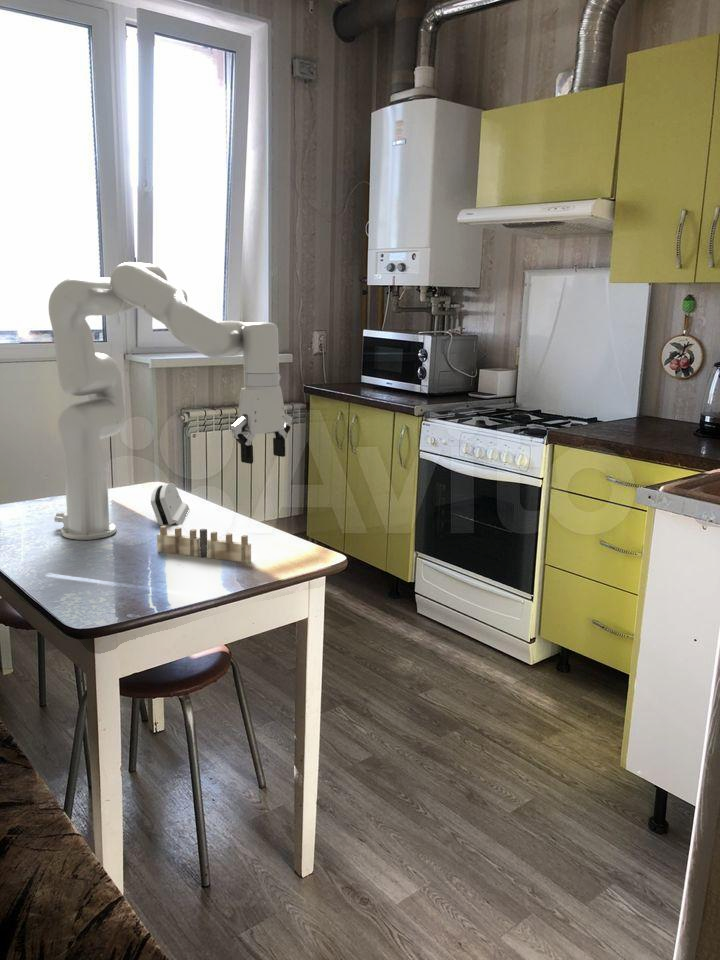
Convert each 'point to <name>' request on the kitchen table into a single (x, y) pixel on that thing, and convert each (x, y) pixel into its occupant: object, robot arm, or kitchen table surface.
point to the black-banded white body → (168, 505)
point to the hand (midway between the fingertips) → (263, 459)
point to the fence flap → (229, 548)
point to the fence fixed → (182, 542)
